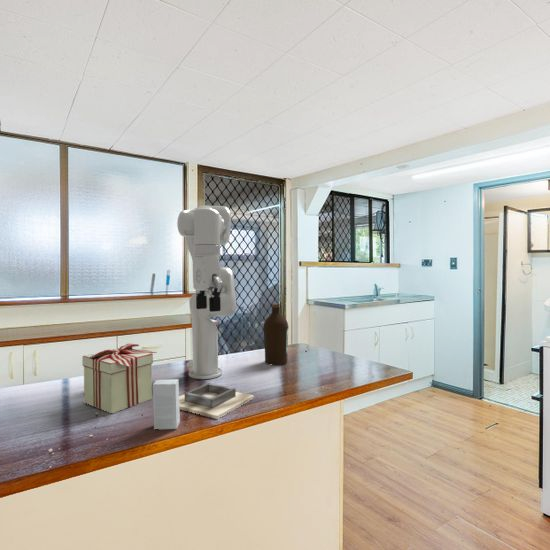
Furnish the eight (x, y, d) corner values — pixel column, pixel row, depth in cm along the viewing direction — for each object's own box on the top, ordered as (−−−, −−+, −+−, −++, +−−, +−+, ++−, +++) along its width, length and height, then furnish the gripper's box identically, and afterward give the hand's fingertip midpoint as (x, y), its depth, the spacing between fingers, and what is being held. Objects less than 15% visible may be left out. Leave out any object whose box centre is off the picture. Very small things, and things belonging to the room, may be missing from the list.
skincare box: (180, 422, 104) (179, 378, 103) (176, 429, 100) (175, 384, 99) (157, 423, 104) (156, 379, 103) (153, 430, 99) (152, 384, 99)
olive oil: (266, 366, 157) (266, 305, 156) (261, 360, 167) (261, 302, 166) (291, 364, 159) (291, 304, 158) (285, 358, 170) (284, 302, 169)
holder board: (165, 405, 116) (165, 394, 116) (205, 388, 131) (204, 378, 131) (217, 419, 106) (217, 406, 106) (253, 398, 121) (253, 387, 121)
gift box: (120, 417, 108) (119, 356, 107) (79, 405, 116) (77, 349, 116) (165, 398, 122) (164, 344, 122) (125, 388, 131) (124, 339, 131)
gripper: (184, 252, 118) (185, 308, 118) (206, 249, 103) (207, 313, 103) (207, 253, 122) (208, 307, 122) (232, 250, 107) (232, 311, 107)
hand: (208, 310), depth 113 cm, fingers open, 9 cm apart
